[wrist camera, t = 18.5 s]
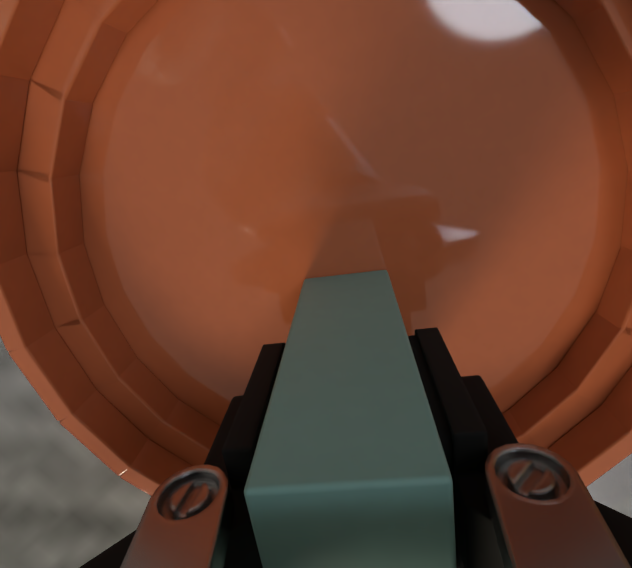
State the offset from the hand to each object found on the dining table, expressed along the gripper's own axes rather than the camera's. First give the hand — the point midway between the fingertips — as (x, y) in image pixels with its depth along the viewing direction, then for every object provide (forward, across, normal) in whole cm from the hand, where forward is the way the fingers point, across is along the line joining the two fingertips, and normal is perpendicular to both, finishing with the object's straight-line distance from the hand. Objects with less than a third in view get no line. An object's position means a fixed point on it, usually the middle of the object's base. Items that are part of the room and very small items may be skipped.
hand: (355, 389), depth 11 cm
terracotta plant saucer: (+3, 0, -3) cm, 4 cm away
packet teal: (+3, 0, 0) cm, 3 cm away
